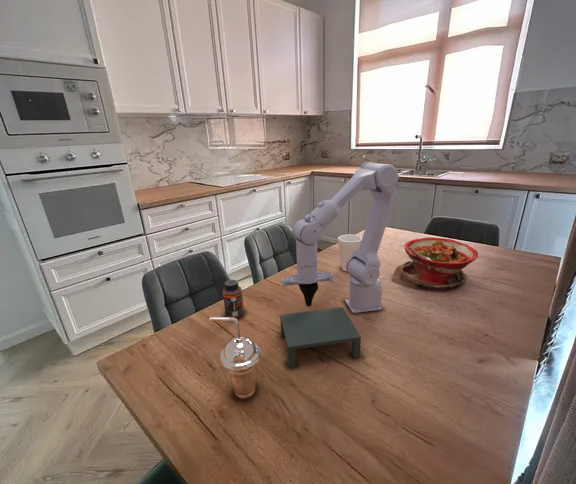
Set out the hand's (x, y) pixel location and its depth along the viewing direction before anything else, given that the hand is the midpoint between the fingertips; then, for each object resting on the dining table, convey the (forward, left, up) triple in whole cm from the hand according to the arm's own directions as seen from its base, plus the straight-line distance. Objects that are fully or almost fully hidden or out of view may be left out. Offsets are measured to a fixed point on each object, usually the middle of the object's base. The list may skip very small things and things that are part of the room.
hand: (308, 304), depth 92 cm
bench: (0, +12, -5) cm, 13 cm away
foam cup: (-24, -32, -5) cm, 40 cm away
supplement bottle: (+22, -8, -5) cm, 24 cm away
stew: (-49, -15, -5) cm, 52 cm away
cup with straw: (+20, +24, -5) cm, 32 cm away
